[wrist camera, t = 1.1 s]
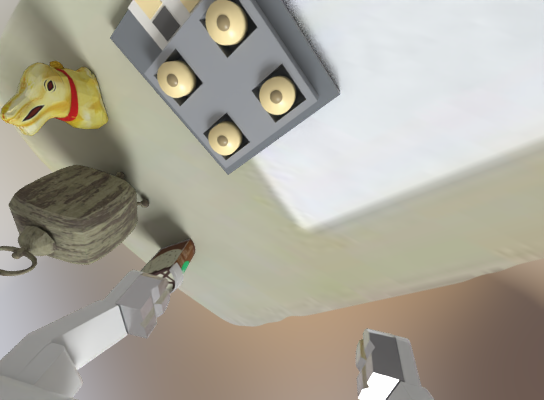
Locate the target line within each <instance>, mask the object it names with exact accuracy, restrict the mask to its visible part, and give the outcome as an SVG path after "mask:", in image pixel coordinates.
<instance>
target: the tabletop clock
mask: <svg viewBox="0 0 544 400" xmlns="http://www.w3.org/2000/svg"><path fill="white" fill-rule="evenodd" d="M124 178H125V175H124V173H122V172H118V173H116V176H113V175H111V174H108V173H105V172H102V171H99V170H96V169H93V168H90V167H86V166H81V165H73V166H69V167H66V168H63V169H60V170H58V171H56V172H53V173H51V174H49V175H46V176H44V177H42V178H40V179H38V180H36V181H34V182H32V183H30V184H28V185H26V186H25V187H23V188H21V189H20V190H19V191H18V192H17V193H15V195H14V196H13V198H12V200H11V201H10V203H9V207H10V210H11V213H12V215H13V218H14V221H15V223H16V226H17V229H18V231H19V234H20V235H19V237H18V243H19V245H20V247H21V248H16V247H9V246H1V247H0V250H5V251H12V252H14V253H13V254H12V257H13V258H15V259H19V258H20V257H22V256H26V257H28V258H29V259H30V260H31V261H32V266H31V267H29V268H28V269H25V270H20V271H5V270H1V269H0V275H2V276H16V275H21V274H24V273H27V272H29V271H31V270H32V269H33V268H35V266H36V265H37V259H36V257H35V256H44V255H47V256H50V257H53V258H56V259H60V260H63V261H66V262H70V263H74V264H84V265H85V264H86V265H89V264H91V263H93V262H95V261H98V260H99V259H100V258H102V257H104V256H105V255H107V254H108V253H109V252H111V251H112V250H113V249H114V248H116V247H117V246H118V245H119V244H120V243H122V242H123V241H124V240H125V238H126V237H127V236H128V235H129V234H130V233H131V232H132V231H133V229H134V228H135V226H136V224H137V205H141V206H142V207H148V206H149V202H148V201H147V200H143V201H141V202H137V194H136V191H135V190H134V188H133V187H132V186H131V185H130V184H129V183H128V182H127V181H125V180H123V179H124ZM34 255H35V256H34Z"/></svg>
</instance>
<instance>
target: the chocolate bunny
mask: <svg viewBox="0 0 544 400" xmlns="http://www.w3.org/2000/svg"><path fill="white" fill-rule="evenodd" d="M0 117H1V119H2V120H4V121H5V122H6V123H9V124H13V125H16V126H17V127H18V128H19V129H20V131H21V132H22V133H23V134H25V135H30V136H33V135H34V134H35V133H37V132H38V131H39V130H40V128H41V127H42V126H43V125H44V123H45V122H46V121H48V120H49V119H51V118H57V119H59V120H62V121H65V122H66V123H68V124H70V125H71V126H73V127H75V128H82V129H98V128H100V127H101V126H103V125H104V124H106V123H107V122H108V116H107V113H106V110H105V107H104V104H103V101H102V98H101V94H100V89H99V86H98V82H97V80H96V77H95V75H94V74H93V73H92V72H91V71H90V70H89V69H87V68H85V67H81V68H79V69H78V70H76V71H74V70H70V69H66V68H64V67H63V66H62V64H61V63H59V62H57V61H52V62H50V66H49V65H46V64H44V63H35V64H33V65H31V66H29V67H28V68H27V69H26V70H25V71H24V73H23V76H22V78H21V81H20V83H19V86H18V89H17V94H16V95H14V96H13V97H12V98H11V99H10V100H9V101H8V102H7V103H6V104H5V105H4V106H3V108H2V109H1V113H0Z"/></svg>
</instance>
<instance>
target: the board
mask: <svg viewBox="0 0 544 400" xmlns="http://www.w3.org/2000/svg"><path fill="white" fill-rule="evenodd" d="M214 1H216V0H132V2H131V4H130V5H129V7H128V11H127V12H126V14H125V15H124V17H123V18H122V20H121V22H120V23H119V25H118V26H117V28H116V29H115V31H114V32H113V34H112V36H111V37H110V39H111V40H112V41H113V42H114V43H115V44H116V46H117V47H118V48H119V49H120V50H121V51H122V53H123V54H124V55H125V56H126V57H127V58H128V59H129V61H130V62H131V63H132V64H133V65H134V66H135V68H136V69H137V70H138V71H139V72H140V73H141V75H142V76H143V77H144V78H145V79H146V80H147V81H148V83H149V84H150V85H151V86H152V87H153V88H154V90H155V91H156V92H157V93H158V94H159V95H160V97H161V98H162V99H163V100H164V101H165V102H166V104H167V105H168V106H169V107H170V108H171V109H172V110H173V112H174V113H175V114H176V115H177V116H178V117H179V119H180V120H181V121H182V122H183V123H184V124H185V126H186V127H187V128H188V129H189V130H190V131H191V133H192V134H193V135H194V136H195V137H196V138H197V139H198V141H199V142H200V143H201V144H202V145H203V146H204V148H205V149H206V150H207V151H208V152H209V153H210V155H211V156H212V157H213V158H214V159H215V160H216V161H217V163H218V164H219V165H220V166H221V167H222V168H223V170H224V171H225V172H226V173H227V174H228V175H229V174H230V173H231V172H233V171H234V170H236V169H237V168H238V167H240V166H241V165H243V164H244V163H245V162H247V161H248V160H249V159H251V158H252V157H254V156H255V155H256V154H258V153H259V152H261V151H262V150H263V149H265V148H266V147H268V146H269V145H270V144H272V143H273V142H274V141H276V140H277V139H279V138H280V137H281V136H283V135H284V134H286V133H287V132H288V131H290V130H291V129H293V128H294V127H295V126H297V125H298V124H299V123H301V122H302V121H304V120H305V119H306V118H308V117H309V116H311V115H312V114H313V113H315V112H316V111H318V110H319V109H320V108H322V107H323V106H324V105H326V104H327V103H329V102H330V101H331V100H333V99H334V98H336V97H337V96H338V95H340V91H339V89H338V88H337V86H336V85H335V83H334V81H333V80H332V78H331V77H330V75H329V73H328V72H327V70H326V69H325V67H324V66H323V64H322V62H321V61H320V59H319V58H318V56H317V54H316V53H315V51H314V50H313V48H312V47H311V45H310V43H309V42H308V40H307V39H306V37H305V35H304V34H303V32H302V31H301V29H300V27H299V26H298V24H297V23H296V21H295V20H294V18H293V16H292V15H291V13H290V12H289V10H288V8H287V7H286V5H285V4H284V2H283V1H282V0H228V1H231V2H234V3H236V4H238V5H239V6H241V7H242V9H243V10H244V12H245V14H246V16H247V20H248V30H247V33H246V36H245V37H244V39H243V40H242V41H241V42H240V43H238V44H235V45H221V44H218V43H217V42H215V41H214V40H213V39H212V38H211V36H210V35H209V33H208V31H207V28H206V13H207V10H208V8H209V6H210V5H211V4H212V3H213V2H214ZM178 60H179V61H184V62H186V63H187V64H188V65H189V66H190V67H191V68H192V70H193V71H194V73H195V76H196V87H195V89H194V90H193V92H191V93H190V94H188V95H185V96H182V97H179V98H173V97H170V96H168V95H167V94H166V93H165V92H164V91H163V90H162V89H161V87H160V85H159V83H158V79H157V73H158V69H159V67H160V66H161V65H162V64H163V63H165V62H170V61H178ZM279 75H280V76H285V77H287V78H289V79H290V80H291V81H292V82H293V83H294V85H295V88H296V99H295V102H294V103H293V105H292V106H291V107H290V109H289V110H288V111H287V112H285V113H283V114H280V115H274V114H271V113H269V112H267V111H266V110H265V109H264V108H263V106H262V105H261V102H260V98H259V94H260V89H261V87H262V85H263V84H264V83H265V82H266V81H267V80H269V79H271V78H272V77H275V76H279ZM223 121H230V122H233V123H235V124H236V125H237V126H238V128H239V129H240V130H241V132H242V136H243V139H242V143H241V145H240V146H239V147H238V148H237V149H236V150H235V151H234V152H233V153H232V154H230V155H221V154H218V153H217V152H215V151H214V150H213V149H212V148H211V146H210V144H209V140H208V136H209V132H210V130H211V129H212V128H213V127H215V126H216V125H218V124H219V123H221V122H223Z"/></svg>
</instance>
